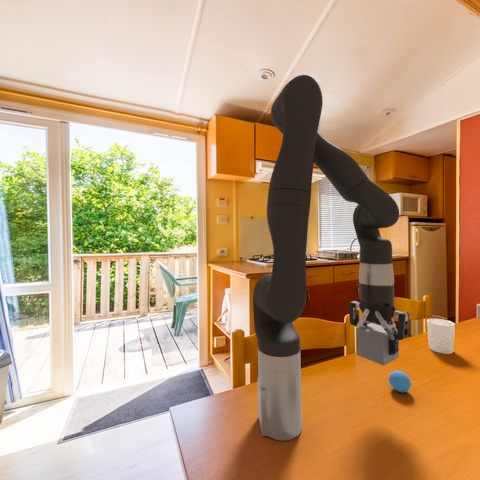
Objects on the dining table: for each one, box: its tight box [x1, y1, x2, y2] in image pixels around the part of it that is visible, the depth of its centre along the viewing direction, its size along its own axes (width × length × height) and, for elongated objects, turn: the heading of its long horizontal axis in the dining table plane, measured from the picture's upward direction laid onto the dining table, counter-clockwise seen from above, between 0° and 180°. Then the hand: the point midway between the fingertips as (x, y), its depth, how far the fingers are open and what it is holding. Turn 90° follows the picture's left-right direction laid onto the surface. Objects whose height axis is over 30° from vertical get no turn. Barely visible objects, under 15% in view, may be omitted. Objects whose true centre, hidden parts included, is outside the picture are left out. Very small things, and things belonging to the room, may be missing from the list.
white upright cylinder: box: [426, 318, 456, 355], centre depth 92 cm, size 8×8×10 cm
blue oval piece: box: [388, 370, 412, 393], centre depth 69 cm, size 5×5×5 cm
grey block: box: [355, 322, 400, 367], centre depth 63 cm, size 7×7×7 cm
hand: (377, 348), depth 63 cm, fingers closed on grey block, 6 cm apart
